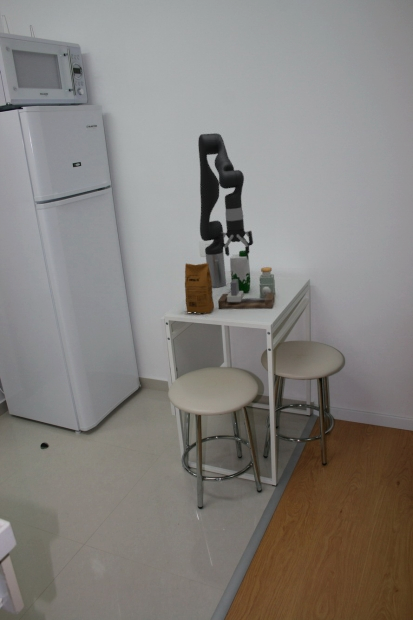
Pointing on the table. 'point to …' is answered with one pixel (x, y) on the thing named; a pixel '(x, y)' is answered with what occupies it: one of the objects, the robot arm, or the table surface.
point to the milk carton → (241, 270)
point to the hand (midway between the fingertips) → (237, 255)
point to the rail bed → (247, 302)
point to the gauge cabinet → (267, 285)
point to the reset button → (266, 271)
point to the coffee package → (198, 288)
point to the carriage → (235, 292)
